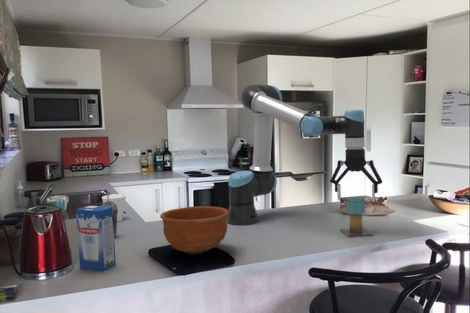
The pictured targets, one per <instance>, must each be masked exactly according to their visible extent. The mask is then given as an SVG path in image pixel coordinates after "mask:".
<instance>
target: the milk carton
mask: <svg viewBox="0 0 470 313" xmlns="http://www.w3.org/2000/svg"><path fill="white" fill-rule="evenodd" d="M75 213H76V215H75V216H76V228H77V243H78V245H77V246H78V257H79V268H80V269H84V270H92V271H101V272H105V271H107V270H108V269H110V268H113V267H115V266H116V265H117V263H116V262H117V260H116V247H115V246H116V245H115V238H114V225H113V209H112V207H102V205H101V206H100V205H98V206H97V205H87V206H83V207H81V208H77V209H75Z"/></svg>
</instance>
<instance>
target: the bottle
mask: <svg viewBox="0 0 470 313" xmlns="http://www.w3.org/2000/svg"><path fill="white" fill-rule="evenodd" d="M348 214H349V213H348ZM348 216H349V218H348V221H349V225H348V226H349V228H341V229H339V232H341V233H342V234H344V235H345V236H346V237H347V238H357V237H359V238H360V237H373V236H374V234H373V233H371V231H368V230H367V229H366V228H364V227H363V214H357V215H355V214H349V215H348Z"/></svg>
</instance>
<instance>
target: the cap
mask: <svg viewBox="0 0 470 313" xmlns="http://www.w3.org/2000/svg"><path fill="white" fill-rule="evenodd" d="M346 213H347V214H355V215H357V214H362V215H364V214H366V198H365V197H362V196H348V197H347V198H346Z"/></svg>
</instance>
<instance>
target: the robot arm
mask: <svg viewBox="0 0 470 313" xmlns="http://www.w3.org/2000/svg"><path fill="white" fill-rule="evenodd" d="M240 102H241V104H242V105H243V107H245V109H247V110H250V111H252V114H253V115H254V116H255V119H254V120H255V121H254V122H255V123H254V136H253V137H254V139H253V155H252V165H251V166H249V169H248V170H243V171H241V170H240V171H236V172H233V173H231V174H230V175H229V177H228V193H229V194H228V196H229V206H228V207H229V208H228V209H227V210H228V211H229V214H228V216H227V224H229V225H236V226H246V225H253V224H256V223H258V222H259V215H258V213H257V209H256V206H255V198H256V197H259V196H266V195H269V194H270V193H272V192H274V190H275V189H276V188H277V184H278V183H277V182H278V181H277V180H278V179H277V176H276V174H275V173H274V169H273V167H272V166H271V158H272V154H271V153H272V143H273V142H272V140H273V124H274V119H276V120H277V121H281V122H282V123H285V124H287V125H289V126H292V127H294V128H296V129H299V130H301V132H302V133H303V135H305V136H307V137H316V136H325V135H326V136H330V135H344V142H345V143H344V145H345V148H346V149H345V160H341V159H339V160H337V164H336V168H335V170H334V171H333V173H332V176H331V178H330V180H329V182H330V183H331V184H334V191H335V193H337V195H336V196H337V201H340V200H341V199H342V198H341V195H342V194H341V192H342V191H341V183H340V181H341V180H342V179H344V177H345V176H346V175H347V173H349V172H357V173H358V172H362V173H363V175H365V176H366V177H367V179H369V181H370V182H371V183H372V185H371V201H372V202H373V203H374V202H376V194H378V191H379V188H378V186H379V185H382V183H383V180H382V177H381V176H380V174H379V172H378V171H377V168H376V166H375V164H374V160H373V159H371V160H366V151H365V150H366V149H365V146H366V144H365V143H366V142H365V139H366V138H365V112H364V111H363V110H362V109H353V110H352V109H351V110H345V111H344V114H343V115H336V116H335V115H332V116H330V115H328V116H322V115H321V116H319V115H315V114H313V113H310V112H307V111H305V110H303V109H300V108H298V107H295V106H292V105H290V104H288V103H286V102H284V101H283V95H282V92H281V91H280V89H279V88H278V87H276V86H275V85H271V84H267V85H266V84H253V83H252V84H249V85H247V86H245V87H243V89H242V91H241V93H240ZM344 165H345V167H346V168H345V169H344V171H343V172H342V173H340V175H339V176H338V174H339V172H340V170H341V168H342V166H344ZM366 165H367V166H368V167H370V170H371V171H372V173H373V175H374V177H375V178H376V179H375V178H374V177H373V176H372V175H371V173H370V172H369V171H368V170H367V168H365V166H366ZM337 176H338V177H337Z"/></svg>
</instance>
